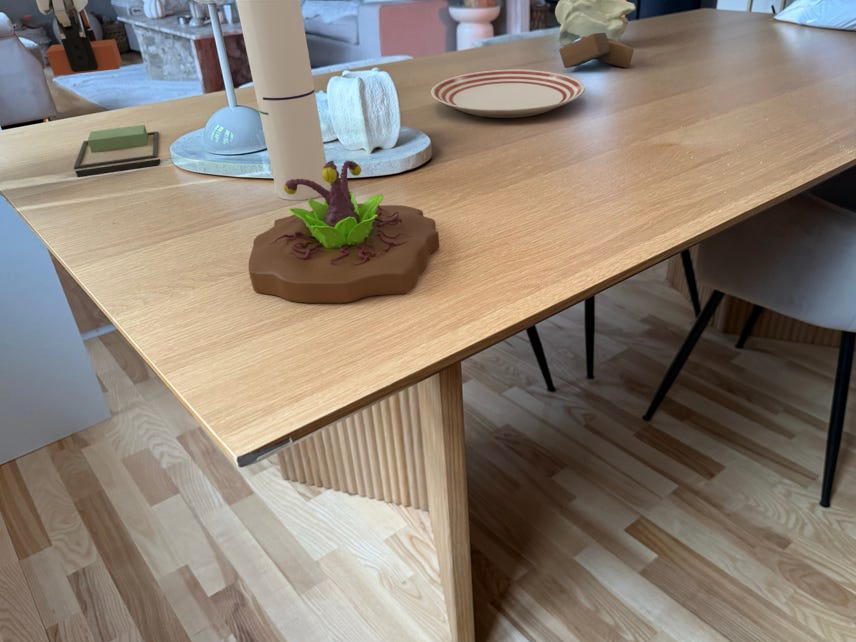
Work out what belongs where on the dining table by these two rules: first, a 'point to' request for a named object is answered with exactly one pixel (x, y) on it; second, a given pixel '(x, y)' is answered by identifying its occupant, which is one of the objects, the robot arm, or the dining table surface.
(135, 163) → the frame tray
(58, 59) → the terracotta pad
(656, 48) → the dining table surface
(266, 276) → the plant
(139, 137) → the sage pad
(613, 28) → the wavy plaster lump
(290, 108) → the cylindrical container
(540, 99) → the dinner plate
